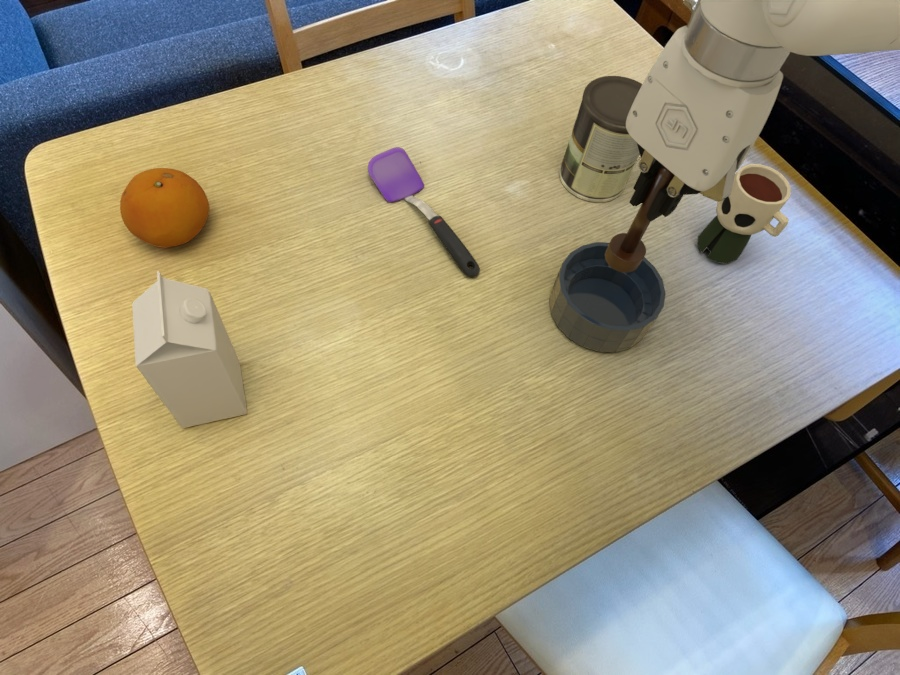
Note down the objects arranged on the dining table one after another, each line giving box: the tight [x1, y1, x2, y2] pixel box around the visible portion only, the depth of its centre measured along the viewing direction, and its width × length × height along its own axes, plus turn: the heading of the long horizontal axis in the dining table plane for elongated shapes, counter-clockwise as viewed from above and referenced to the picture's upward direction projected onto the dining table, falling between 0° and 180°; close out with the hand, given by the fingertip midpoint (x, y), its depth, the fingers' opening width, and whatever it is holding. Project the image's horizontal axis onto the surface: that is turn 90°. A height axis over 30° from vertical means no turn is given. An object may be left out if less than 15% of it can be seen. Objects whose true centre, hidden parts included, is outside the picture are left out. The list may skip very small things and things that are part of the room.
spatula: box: [367, 146, 481, 278], centre depth 87 cm, size 24×7×2 cm, turn 34°
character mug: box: [696, 163, 792, 265], centre depth 84 cm, size 11×7×13 cm, turn 36°
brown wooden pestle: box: [605, 165, 674, 273], centre depth 64 cm, size 4×4×14 cm
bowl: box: [549, 241, 667, 353], centre depth 80 cm, size 13×13×6 cm
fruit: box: [119, 167, 210, 248], centre depth 80 cm, size 10×10×8 cm
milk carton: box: [131, 270, 248, 429], centre depth 64 cm, size 7×7×19 cm
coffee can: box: [558, 75, 643, 203], centre depth 89 cm, size 10×10×14 cm
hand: (650, 205), depth 63 cm, fingers closed on brown wooden pestle, 1 cm apart
